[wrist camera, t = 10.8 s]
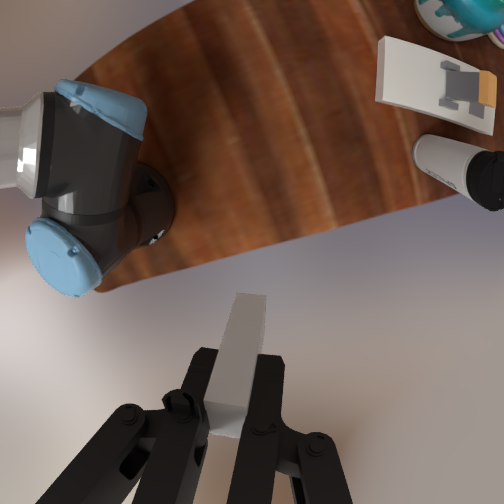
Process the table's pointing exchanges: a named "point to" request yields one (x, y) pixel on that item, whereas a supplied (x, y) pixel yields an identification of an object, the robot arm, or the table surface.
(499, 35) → the stacking toy
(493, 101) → the lever
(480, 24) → the vase
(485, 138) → the table surface
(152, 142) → the table surface
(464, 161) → the travel mug
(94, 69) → the table surface
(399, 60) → the switch box
